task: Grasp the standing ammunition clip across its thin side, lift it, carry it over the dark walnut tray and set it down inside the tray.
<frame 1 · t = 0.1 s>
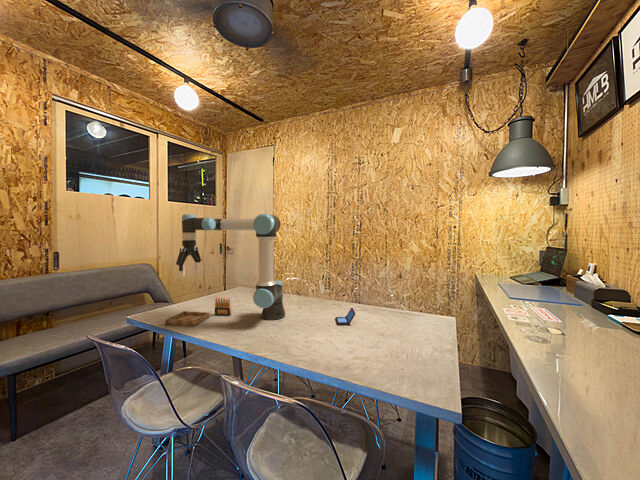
hand: (189, 274, 158), 28 cm above the table, fingers open, 13 cm apart
ammunition clip: (222, 315, 167), on the table
handheld game console: (345, 322, 157), on the table
tray: (188, 320, 157), on the table
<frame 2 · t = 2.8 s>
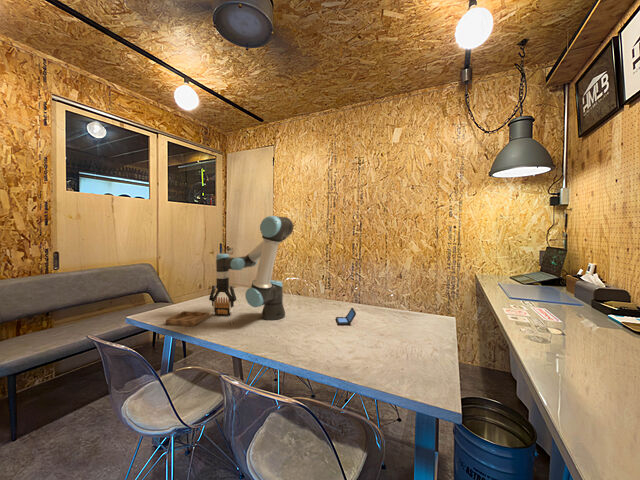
hand: (222, 311, 167), 2 cm above the table, fingers closed on ammunition clip, 10 cm apart
ammunition clip: (222, 315, 167), on the table, touching gripper
everything else where it was.
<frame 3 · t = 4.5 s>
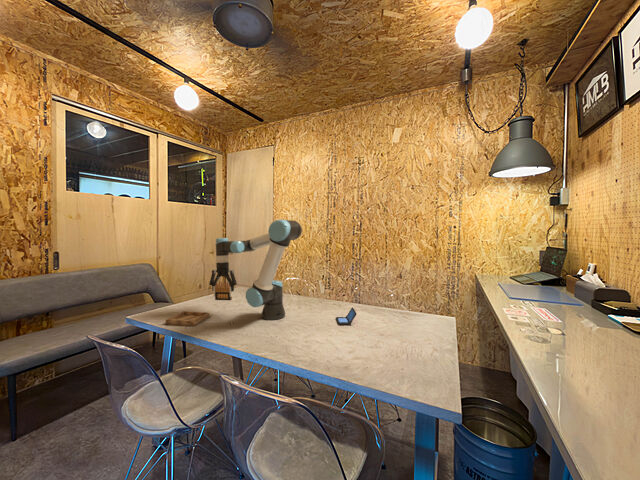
hand: (223, 296, 167), 13 cm above the table, fingers closed on ammunition clip, 10 cm apart
ammunition clip: (223, 300, 167), point 10 cm above the table, touching gripper
everything else where it was.
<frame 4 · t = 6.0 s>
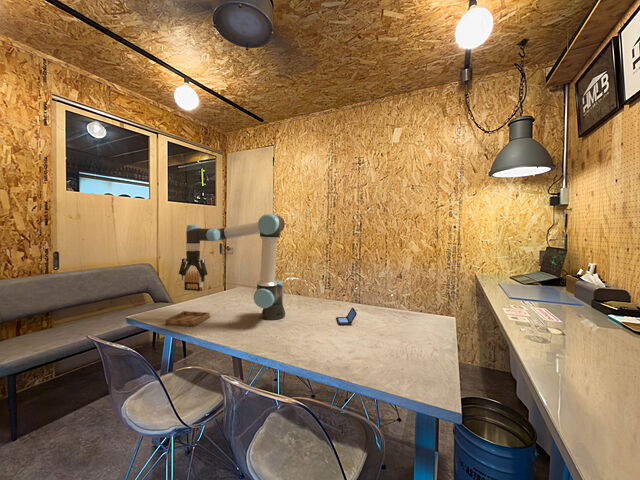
hand: (193, 286, 158), 21 cm above the table, fingers closed on ammunition clip, 10 cm apart
ammunition clip: (193, 290, 158), point 18 cm above the table, touching gripper
everything else where it was.
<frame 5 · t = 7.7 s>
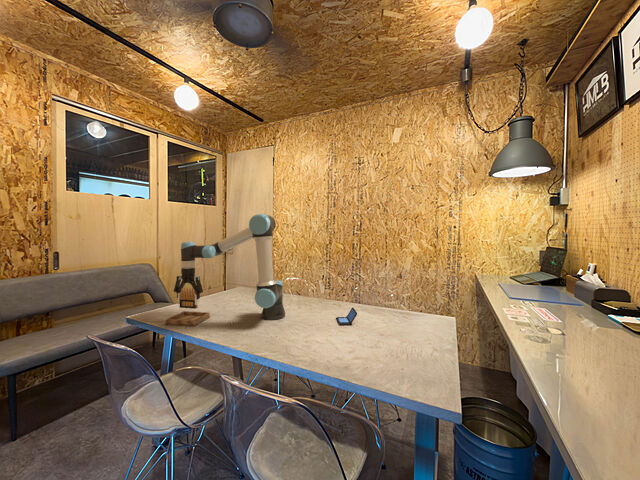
hand: (188, 303, 156), 10 cm above the table, fingers closed on ammunition clip, 10 cm apart
ammunition clip: (188, 308, 156), point 8 cm above the table, touching gripper
everything else where it was.
when the fingers open (5 cm above the table, at t = 9.1 s): ammunition clip drops 2 cm, resting on tray.
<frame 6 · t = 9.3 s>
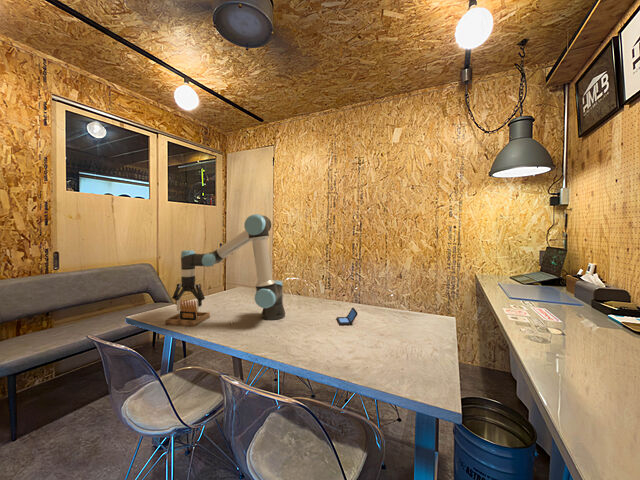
hand: (188, 311, 156), 6 cm above the table, fingers open, 12 cm apart
ammunition clip: (189, 319, 157), point 1 cm above the table, touching tray
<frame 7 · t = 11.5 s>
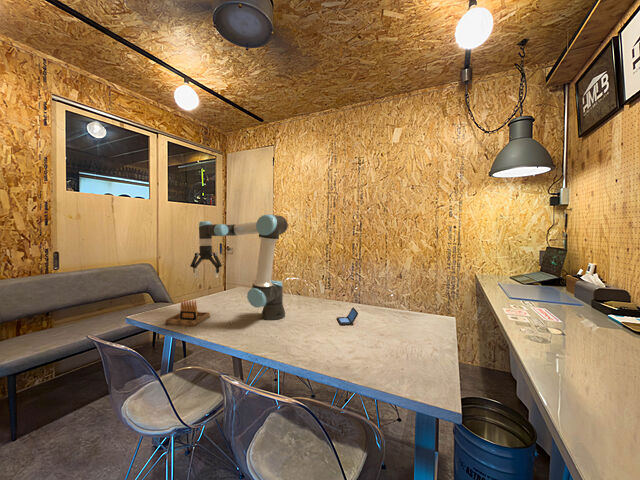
hand: (206, 277, 168), 24 cm above the table, fingers open, 13 cm apart
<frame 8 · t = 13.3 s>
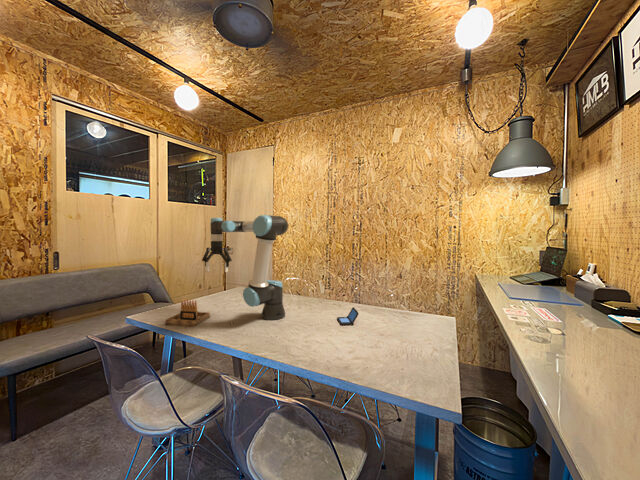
hand: (216, 271, 177), 27 cm above the table, fingers open, 13 cm apart
at the end: ammunition clip inside the target area on the tray (0.2 cm from its centre), point 0.8 cm above the tray's base; the gripper is holding nothing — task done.
